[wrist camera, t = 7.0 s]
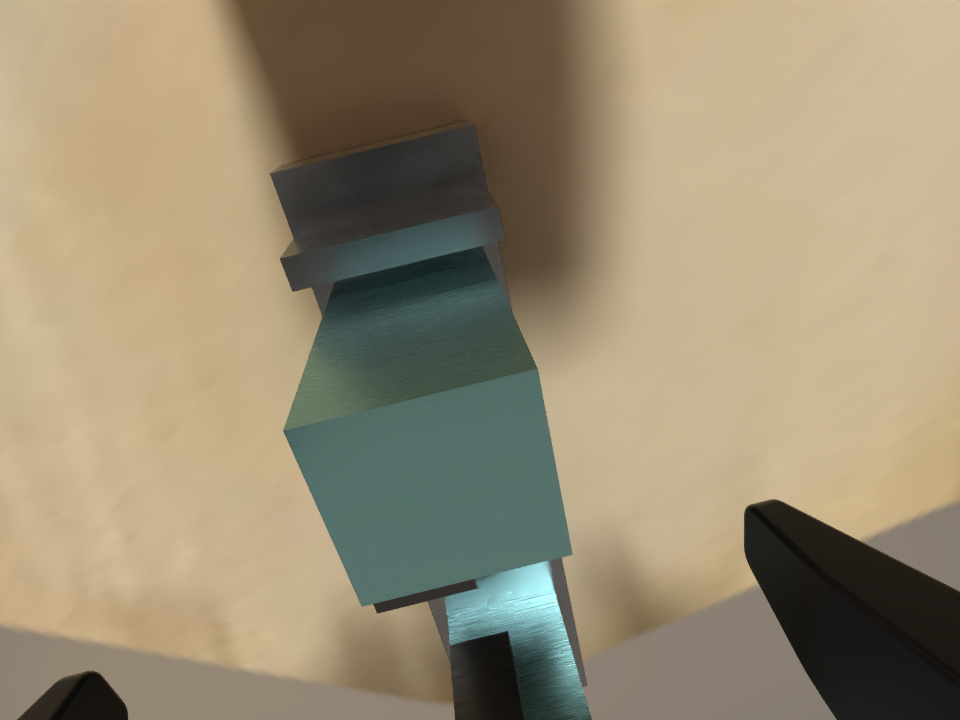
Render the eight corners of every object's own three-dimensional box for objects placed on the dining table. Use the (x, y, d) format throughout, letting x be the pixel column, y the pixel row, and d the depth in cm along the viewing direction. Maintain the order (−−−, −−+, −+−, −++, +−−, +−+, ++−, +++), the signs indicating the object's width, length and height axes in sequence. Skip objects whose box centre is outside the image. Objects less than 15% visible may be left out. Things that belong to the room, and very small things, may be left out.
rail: (468, 120, 15) (532, 164, 7) (577, 652, 25) (651, 903, 17) (281, 164, 15) (155, 254, 7) (466, 680, 25) (492, 944, 17)
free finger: (482, 247, 15) (537, 368, 9) (514, 394, 17) (576, 577, 11) (334, 283, 15) (283, 430, 9) (384, 426, 17) (371, 627, 11)
